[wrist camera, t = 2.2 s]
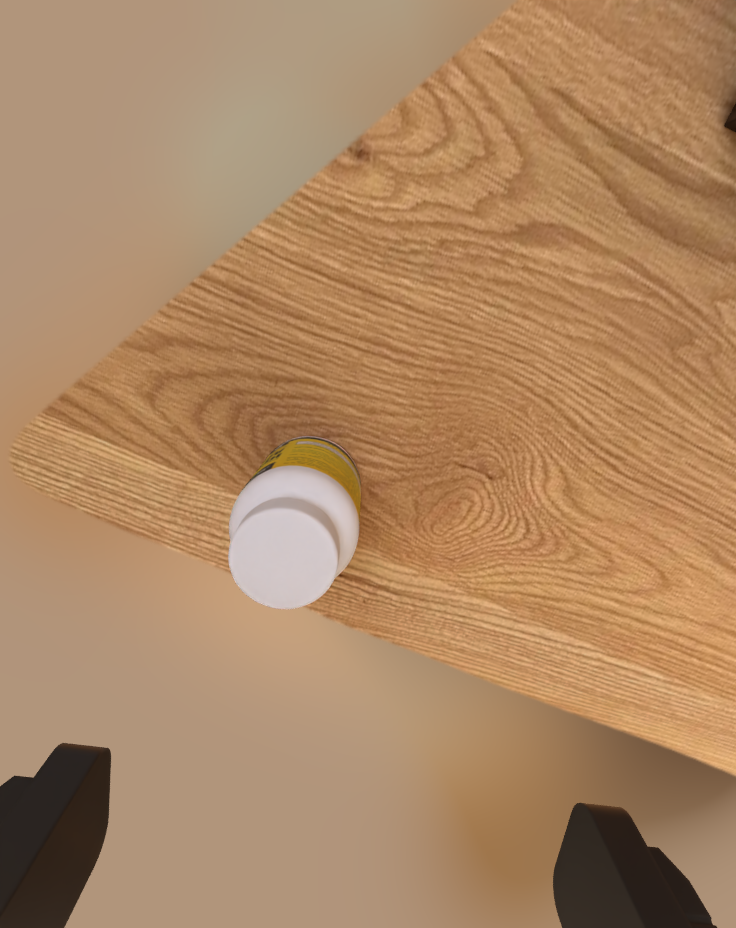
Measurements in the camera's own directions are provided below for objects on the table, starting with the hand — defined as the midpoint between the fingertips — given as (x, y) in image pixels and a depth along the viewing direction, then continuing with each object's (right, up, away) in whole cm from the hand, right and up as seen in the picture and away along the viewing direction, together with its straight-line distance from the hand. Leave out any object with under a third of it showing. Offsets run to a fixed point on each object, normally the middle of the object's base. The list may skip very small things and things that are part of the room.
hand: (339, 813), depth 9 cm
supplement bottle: (-3, +5, +19) cm, 20 cm away
